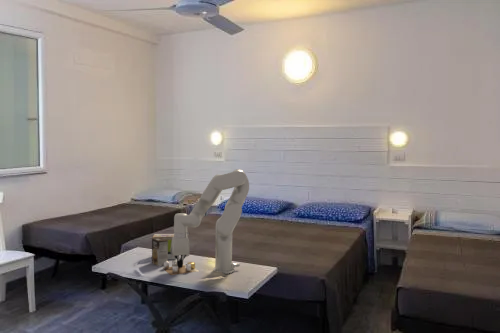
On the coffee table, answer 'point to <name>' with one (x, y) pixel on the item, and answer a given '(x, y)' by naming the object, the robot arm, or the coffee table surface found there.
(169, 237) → the tea box
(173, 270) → the spacers
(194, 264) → the brass domed cylinder
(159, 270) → the coffee table surface
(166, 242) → the coffee box
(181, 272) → the board
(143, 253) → the coffee table surface
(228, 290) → the coffee table surface
